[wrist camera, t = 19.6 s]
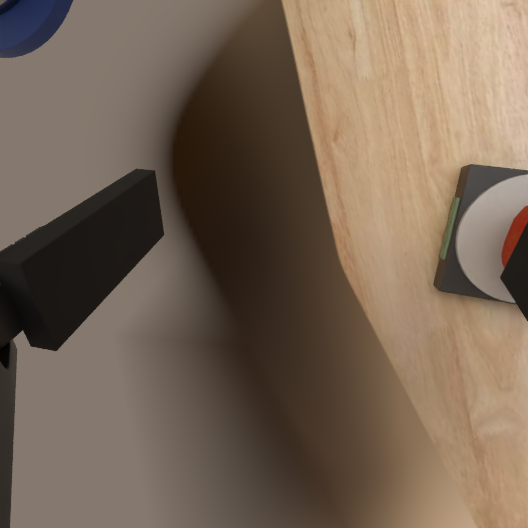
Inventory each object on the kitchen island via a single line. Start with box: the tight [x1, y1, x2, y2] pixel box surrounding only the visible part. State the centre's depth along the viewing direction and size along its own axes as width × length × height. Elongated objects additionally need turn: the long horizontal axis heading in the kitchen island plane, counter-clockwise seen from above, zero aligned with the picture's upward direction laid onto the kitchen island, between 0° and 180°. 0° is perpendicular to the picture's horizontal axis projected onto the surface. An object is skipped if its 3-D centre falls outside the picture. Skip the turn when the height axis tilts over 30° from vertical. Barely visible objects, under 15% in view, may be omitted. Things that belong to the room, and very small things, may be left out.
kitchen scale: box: [433, 164, 528, 304], centre depth 32 cm, size 12×12×3 cm
